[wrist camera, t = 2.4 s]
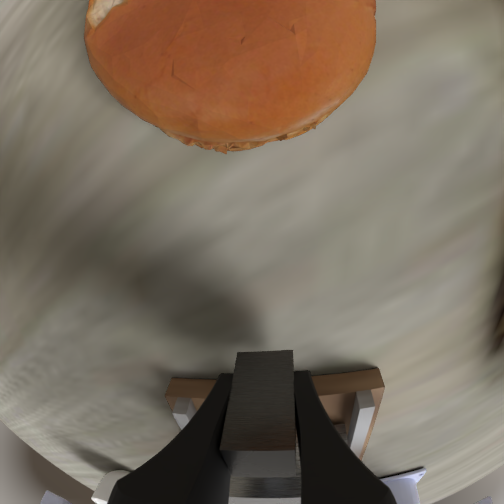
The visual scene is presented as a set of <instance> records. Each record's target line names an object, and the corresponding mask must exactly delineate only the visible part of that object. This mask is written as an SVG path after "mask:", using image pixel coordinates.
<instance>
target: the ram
mask: <svg viewBox="0 0 504 504" xmlns="http://www.w3.org/2000/svg"><path fill="white" fill-rule="evenodd" d="M293 381H294V361H293V350H281V351H262V352H237V358H236V363H235V369H234V374H233V380H232V387H231V391H230V396H229V402H228V407H227V412H226V418H225V423H224V429H223V434H222V439H221V445H220V452H221V454H222V456H223V458H224V460H225V462H226V464H227V467H228V469H229V471H230V473H231V478H230V489H229V502H228V504H301V467H300V457H299V448H298V440H297V432H296V419H295V396H294V382H293ZM334 426H335V428H336V429H337V431H338V432H339V434H340V435H341V437H342V438H343V440H344V441H345V442H346V444H347V445H348V441H347V435H346V428H345V424H340V425H334Z"/></svg>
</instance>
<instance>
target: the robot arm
mask: <svg viewBox="0 0 504 504" xmlns="http://www.w3.org/2000/svg"><path fill="white" fill-rule="evenodd" d="M232 380H233V374H220V375H219V377H218V379H217V381H216V383H215V384H214V386H213V388H212V389H211V391H210V393H209V394H208V396H207V397H206V399H205V400H204V402H203V403H202V405H201V406H200V408H199V409H198V411H197V412H196V413H195V415H194V416H193V417H192V418H191V420H190V421H189V422H188V423H187V425H186V426H185V427H184V428H183V429H182V430H181V432H180V433H179V434H178V435H177V436H176V437H175V438H174V439H173V440H172V441H171V442H170V443H169V444H168V445H167V446H166V447H165V448H163V449H162V450H161V451H160V452H159V453H158V454H156V455H155V456H154V457H153V458H151V459H150V460H149V461H147V462H146V463H144V464H143V465H142V466H140V467H139V468H137V469H136V470H134V471H132V472H131V473H129V474H127V475H126V476H124V477H122V478H120V479H118V480H117V481H116V483H115V485H114V487H113V489H112V492H111V494H110V497H109V500H108V502H107V504H228V502H229V489H230V478H231V473H230V471H229V469H228V467H227V464H226V462H225V460H224V458H223V456H222V454H221V452H220V445H221V439H222V434H223V429H224V423H225V418H226V412H227V407H228V402H229V396H230V391H231V387H232ZM293 382H294V396H295V419H296V432H297V440H298V448H299V457H300V467H301V504H420V500H419V495H418V491H417V486H416V483H417V482H418V481H419V480H420V479H421V477H422V476H423V475H424V474H425V473H426V471H427V470H426V468H423V469H419V470H416V471H412V472H408V473H405V474H401V475H396V476H392V477H388V478H383V479H379V478H378V477H376V476H375V475H374V474H373V473H372V472H371V471H370V470H369V469H368V468H367V467H366V466H365V465H364V464H363V463H362V461H361V460H360V459H359V458H358V457H357V456H356V455H355V454H354V452H353V451H352V450H351V449H350V447H349V446H348V445H347V444H346V442H345V441H344V440H343V438H342V437H341V435H340V434H339V432H338V431H337V429H336V428H335V426H334V425H333V423H332V421H331V420H330V418H329V416H328V414H327V412H326V411H325V409H324V407H323V405H322V403H321V401H320V398H319V396H318V394H317V391H316V389H315V386H314V383H313V380H312V377H311V372H310V371H308V370H305V371H294V381H293ZM40 504H72V503H70V502H69V501H67V500H65V499H63V498H61V497H60V496H58V495H55V494H54V493H52V492H50V491H46V492H45V495H44V496H43V499H42V501H41V503H40ZM474 504H493V503H492V499H491V497H490V496H488V497H486V498H484V499H482V500H480V501H478V502H476V503H474Z"/></svg>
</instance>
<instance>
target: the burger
mask: <svg viewBox="0 0 504 504" xmlns="http://www.w3.org/2000/svg"><path fill="white" fill-rule="evenodd" d="M375 12H376V1H375V0H89V6H88V11H87V14H86V22H85V33H84V40H85V45H86V49H87V53H88V57H89V61H90V64H91V67H92V69H93V70H94V72H95V74H96V75H97V77H98V78H99V79H100V81H101V82H102V83H103V85H104V86H105V87H106V89H107V90H108V91H109V92H110V94H111V95H112V96H113V97H114V98H115V99H116V100H117V101H118V102H119V103H120V104H121V105H123V106H124V107H125V108H127V109H128V110H130V111H131V112H133V113H134V114H135V115H137V116H138V117H140V118H141V119H142V120H144V121H146V122H148V123H151V124H153V125H155V126H156V127H159V128H160V129H161V130H162V131H163V132H164V133H165V134H167V135H168V136H169V137H172V138H175V139H178V140H179V141H181V142H182V143H184V144H186V145H188V146H193V145H194V144H195V145H197V146H199V147H201V148H204V149H207V150H211V149H212V148H213V149H215V151H220V152H222V153H225V154H227V151H241V150H248V149H252V148H255V147H259V146H262V145H264V144H265V143H267V142H272V141H277V140H280V141H282V140H288V139H291V138H293V137H296V136H299V135H301V134H303V133H305V132H307V131H309V130H310V129H312V128H314V129H315V128H316V125H318V124H319V123H321V122H322V121H323V120H324V119H325V118H327V117H328V116H329V115H330V114H331V113H332V112H333V111H334V110H335V109H337V108H338V107H339V106H340V105H341V104H342V103H343V102H344V101H345V100H346V99H347V98H348V97H349V96H350V95H351V94H352V93H353V92H354V90H355V89H356V88H357V86H358V85H359V83H360V82H361V81H362V79H363V78H364V77H365V75H366V74H367V71H368V69H369V66H370V63H371V60H372V57H373V53H374V48H375V43H376V20H375V17H374V16H375Z"/></svg>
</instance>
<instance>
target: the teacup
mask: <svg viewBox="0 0 504 504" xmlns="http://www.w3.org/2000/svg"><path fill="white" fill-rule="evenodd" d="M129 473H131V472H129V471H125V470H115V471H111V472H109V473H107V474H106V475H105V476H104V477H103V478H102V479H101V481H100V483H99V484H98V486H97V488H96V490H95V492H94V494H93V496H92V498H91V499H92V500H93V501H94V502H96V503H97V504H107V502H108V500H109V497H110V494H111V492H112V489H113V487H114V485H115V483H116V481H117V480H118V479H120V478H122V477H124V476H126V475H127V474H129Z"/></svg>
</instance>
